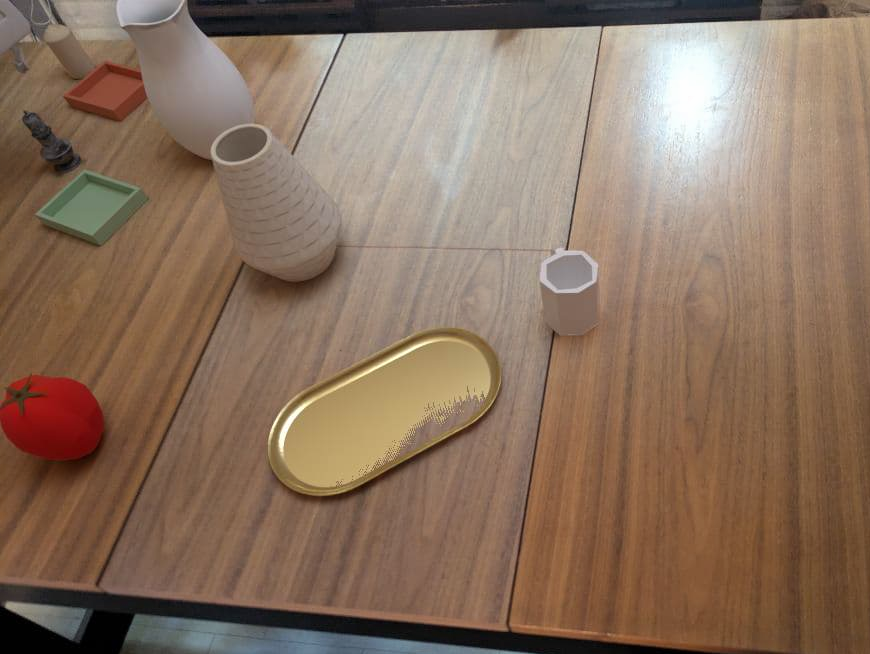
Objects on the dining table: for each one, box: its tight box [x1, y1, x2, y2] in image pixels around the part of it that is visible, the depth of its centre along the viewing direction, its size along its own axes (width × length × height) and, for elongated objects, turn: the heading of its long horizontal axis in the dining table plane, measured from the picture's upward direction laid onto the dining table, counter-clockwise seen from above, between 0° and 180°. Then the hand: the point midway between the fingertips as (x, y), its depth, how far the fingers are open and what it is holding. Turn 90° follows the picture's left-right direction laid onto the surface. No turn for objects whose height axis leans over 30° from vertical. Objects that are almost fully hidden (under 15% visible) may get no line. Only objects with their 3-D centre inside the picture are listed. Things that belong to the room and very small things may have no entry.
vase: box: [211, 123, 342, 283], centre depth 109 cm, size 17×17×23 cm
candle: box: [42, 23, 96, 80], centre depth 150 cm, size 6×6×10 cm
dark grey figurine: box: [21, 109, 82, 174], centre depth 133 cm, size 6×6×12 cm
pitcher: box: [115, 0, 256, 161], centre depth 126 cm, size 24×17×28 cm
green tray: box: [34, 169, 149, 247], centre depth 128 cm, size 15×13×3 cm
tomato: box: [0, 372, 105, 461], centre depth 98 cm, size 12×12×13 cm
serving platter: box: [267, 326, 503, 497], centre depth 101 cm, size 19×35×2 cm, turn 120°
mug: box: [539, 247, 601, 337], centre depth 104 cm, size 12×9×10 cm
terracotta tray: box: [62, 60, 148, 122], centre depth 147 cm, size 15×13×3 cm
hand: (5, 86), depth 123 cm, fingers open, 8 cm apart
